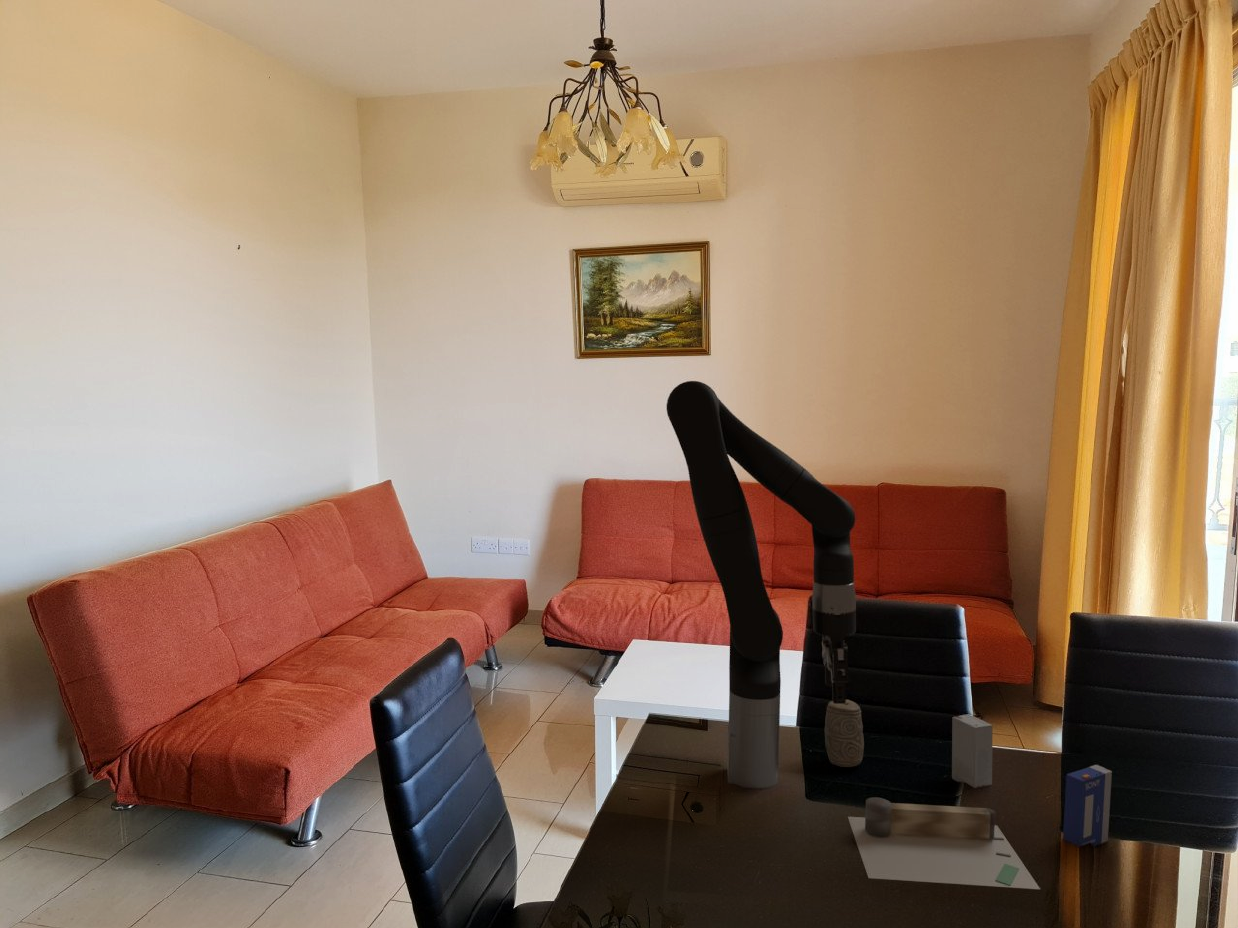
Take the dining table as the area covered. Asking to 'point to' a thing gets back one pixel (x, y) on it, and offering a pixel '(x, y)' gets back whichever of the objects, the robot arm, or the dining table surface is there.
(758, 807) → the dining table surface
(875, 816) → the pointer lever
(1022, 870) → the dial plate
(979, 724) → the skincare box
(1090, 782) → the walkman
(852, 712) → the carving
